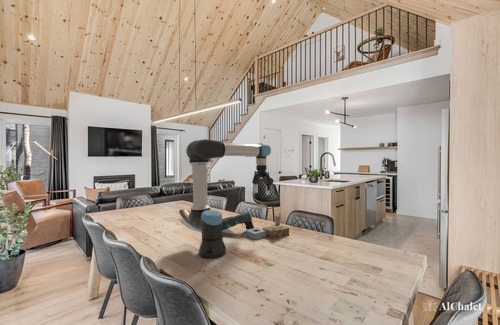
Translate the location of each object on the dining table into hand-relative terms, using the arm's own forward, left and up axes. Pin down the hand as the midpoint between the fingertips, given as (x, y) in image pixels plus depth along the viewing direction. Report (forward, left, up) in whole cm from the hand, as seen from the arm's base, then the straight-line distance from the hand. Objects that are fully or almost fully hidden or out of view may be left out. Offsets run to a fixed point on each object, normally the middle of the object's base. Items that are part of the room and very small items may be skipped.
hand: (261, 193), depth 177 cm
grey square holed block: (-11, -6, -28) cm, 30 cm away
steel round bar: (+3, -13, -28) cm, 30 cm away
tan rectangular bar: (-2, -18, -22) cm, 28 cm away
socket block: (+1, -13, -28) cm, 30 cm away
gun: (-17, +13, -28) cm, 35 cm away
